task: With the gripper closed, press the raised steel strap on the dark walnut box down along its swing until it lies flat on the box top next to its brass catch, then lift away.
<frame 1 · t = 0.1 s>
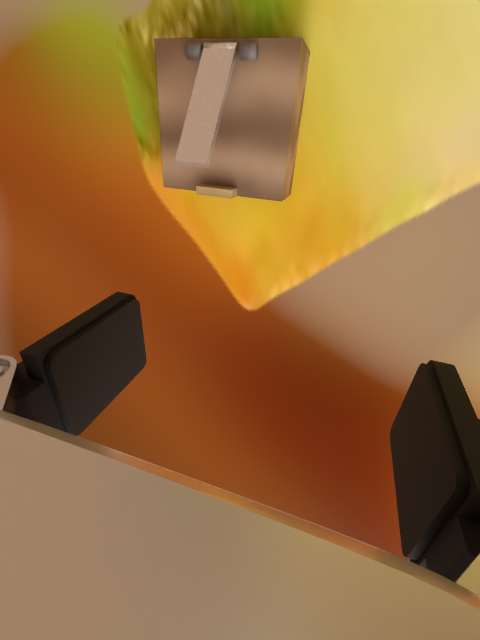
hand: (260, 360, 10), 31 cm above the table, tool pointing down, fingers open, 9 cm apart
steel strap: (206, 103, 27), point 9 cm above the table, hinge at 35.0°
walnut box: (237, 126, 35), on the table
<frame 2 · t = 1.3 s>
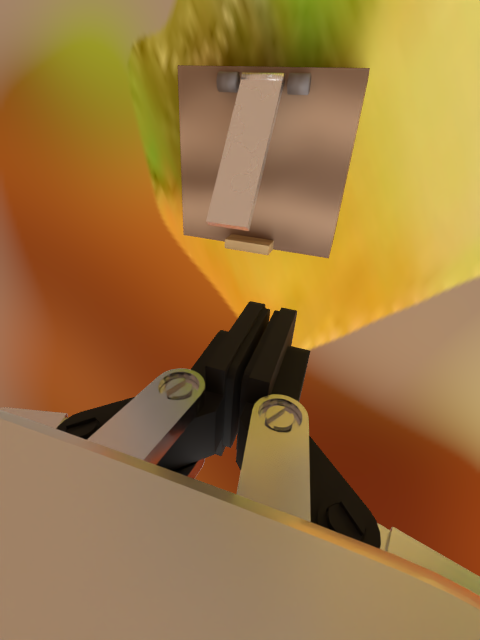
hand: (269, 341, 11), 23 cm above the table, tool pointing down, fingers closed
steel strap: (246, 149, 22), point 9 cm above the table, hinge at 35.0°
walnut box: (272, 164, 29), on the table
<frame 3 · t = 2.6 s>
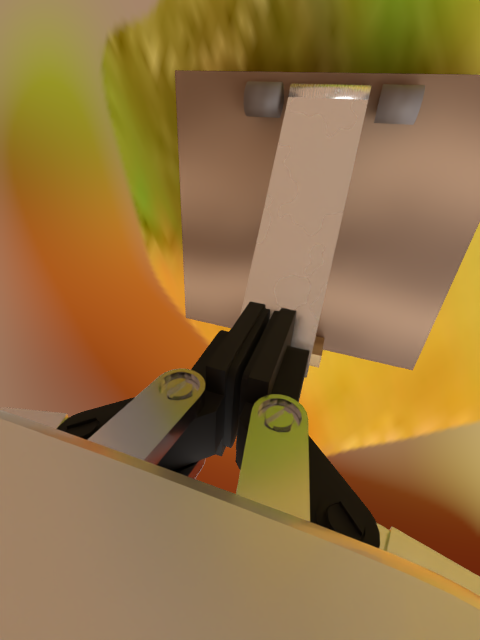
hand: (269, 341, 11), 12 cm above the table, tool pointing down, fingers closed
steel strap: (299, 227, 12), point 8 cm above the table, hinge at 31.9°, touching gripper
walnut box: (317, 215, 20), on the table
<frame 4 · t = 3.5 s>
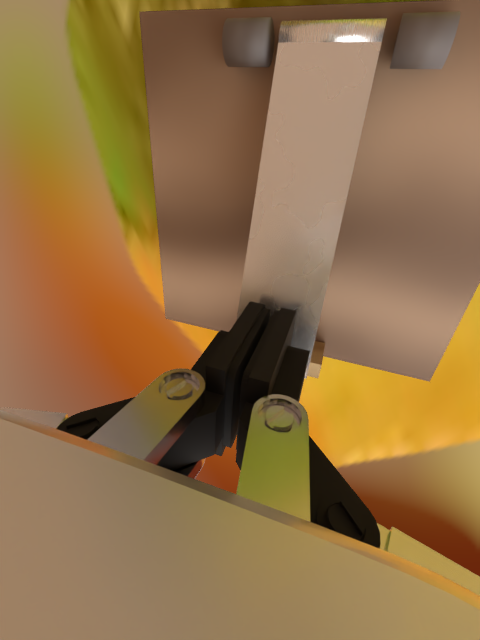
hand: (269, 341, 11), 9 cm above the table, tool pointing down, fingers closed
steel strap: (296, 217, 11), point 7 cm above the table, hinge at 17.5°, touching gripper
walnut box: (317, 200, 17), on the table
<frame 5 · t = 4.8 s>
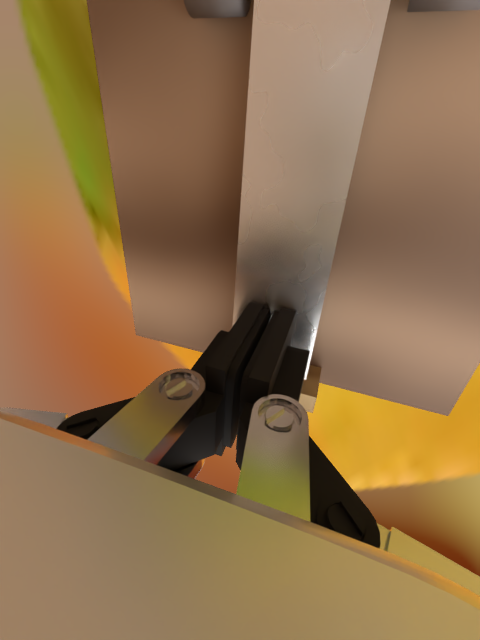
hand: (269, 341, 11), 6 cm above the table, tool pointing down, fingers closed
steel strap: (290, 217, 9), point 6 cm above the table, hinge at 2.7°, touching gripper
walnut box: (313, 197, 14), on the table
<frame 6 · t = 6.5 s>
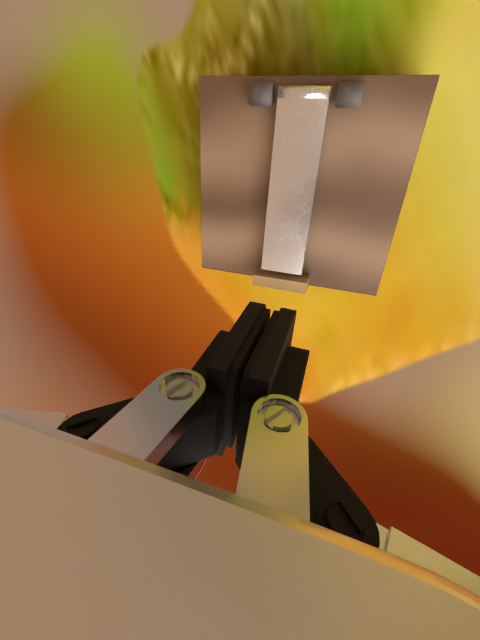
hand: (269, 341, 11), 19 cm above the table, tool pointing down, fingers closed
steel strap: (291, 189, 21), point 6 cm above the table, hinge at 2.6°
walnut box: (303, 186, 26), on the table
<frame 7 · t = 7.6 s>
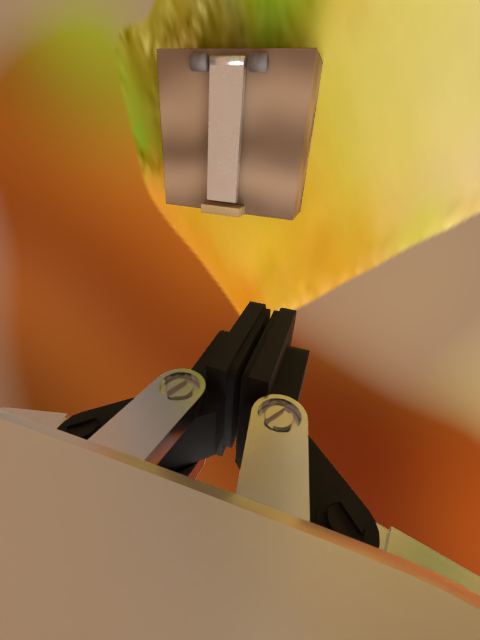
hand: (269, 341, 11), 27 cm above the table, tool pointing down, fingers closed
steel strap: (224, 135, 28), point 6 cm above the table, hinge at 2.6°
walnut box: (244, 139, 33), on the table
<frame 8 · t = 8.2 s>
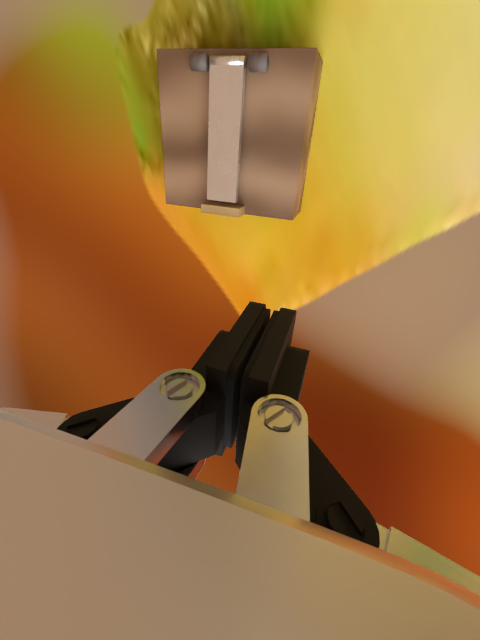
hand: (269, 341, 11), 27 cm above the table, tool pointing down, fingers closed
steel strap: (224, 135, 28), point 6 cm above the table, hinge at 2.6°
walnut box: (244, 139, 33), on the table
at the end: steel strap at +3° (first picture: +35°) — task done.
